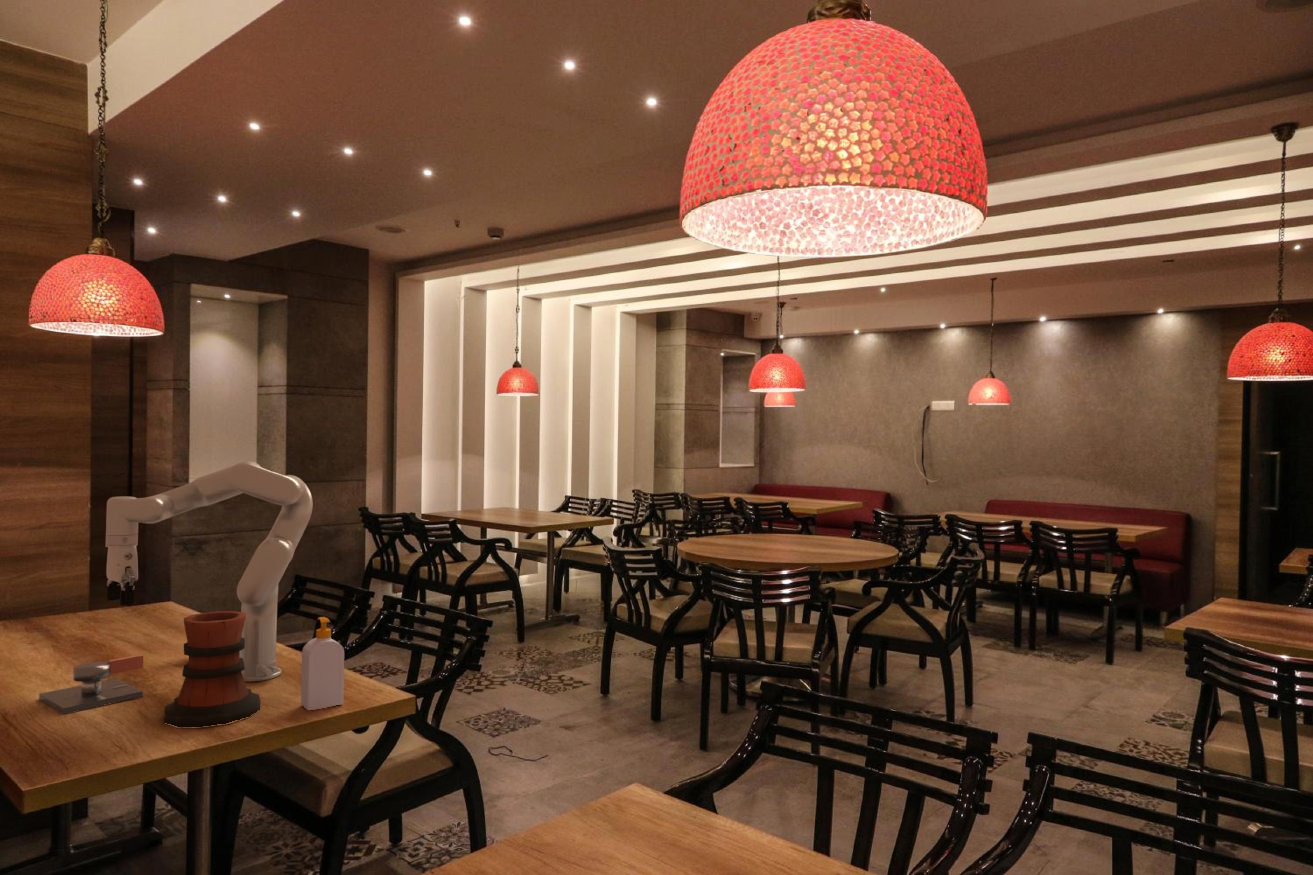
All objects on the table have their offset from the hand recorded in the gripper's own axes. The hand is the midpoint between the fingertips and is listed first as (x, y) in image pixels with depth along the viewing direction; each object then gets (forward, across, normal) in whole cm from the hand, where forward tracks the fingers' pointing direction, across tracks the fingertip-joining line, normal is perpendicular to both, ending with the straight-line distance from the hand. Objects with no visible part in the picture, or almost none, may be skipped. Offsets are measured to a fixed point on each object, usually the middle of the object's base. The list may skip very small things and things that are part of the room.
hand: (120, 601), depth 226 cm
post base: (+24, -7, +8) cm, 26 cm away
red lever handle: (+18, -7, +5) cm, 20 cm away
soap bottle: (+23, -58, -28) cm, 68 cm away
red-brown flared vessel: (+24, -42, -8) cm, 48 cm away
